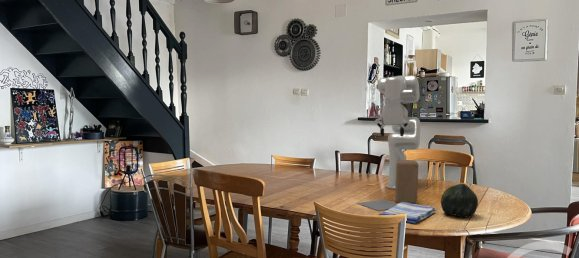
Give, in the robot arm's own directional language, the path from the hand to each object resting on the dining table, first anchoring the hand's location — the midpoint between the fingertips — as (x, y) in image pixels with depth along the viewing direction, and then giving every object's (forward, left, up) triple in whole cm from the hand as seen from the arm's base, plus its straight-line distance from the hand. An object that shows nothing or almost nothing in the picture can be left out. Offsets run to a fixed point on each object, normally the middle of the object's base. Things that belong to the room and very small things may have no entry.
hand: (392, 136), depth 218 cm
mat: (+14, +10, -32) cm, 36 cm away
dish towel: (+16, +30, -32) cm, 47 cm away
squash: (-4, +40, -32) cm, 51 cm away
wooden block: (-1, +10, -32) cm, 33 cm away
